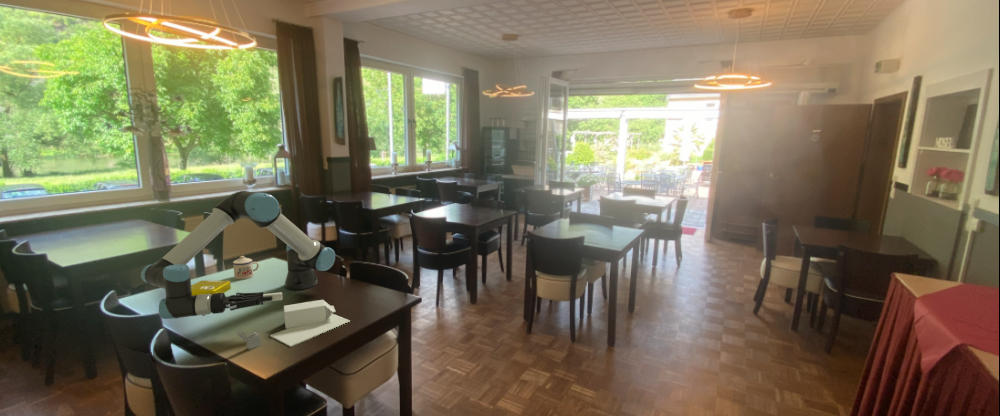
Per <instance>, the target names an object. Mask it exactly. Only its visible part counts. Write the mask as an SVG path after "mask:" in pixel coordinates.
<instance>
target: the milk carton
mask: <svg viewBox="0 0 1000 416" xmlns="http://www.w3.org/2000/svg"><path fill="white" fill-rule="evenodd" d="M334 313H336V309H335V306H334V305H330V304H329V303H328V302H326V300H324V299H320V300H319V299H318V300H312V301H305V302H299V303H294V304H287V305H283V317H284V326H285V329H288V328H293V327H298V326H304V325H309V324H314V323H320V322H325V321H327V319H328V318H329V317H330V316H331V315H332V314H334Z"/></svg>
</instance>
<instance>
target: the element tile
mask: <svg viewBox="0 0 1000 416" xmlns="http://www.w3.org/2000/svg"><path fill="white" fill-rule="evenodd" d="M231 289H232V286H231V281H230V280H216V279H215V280H199V281H198V282H196V283H194V284H191V291H192V296H195V295H203V294H211V295H212V294H214V293H224V294H225V293H226V292H228V291H229V290H231Z"/></svg>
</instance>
